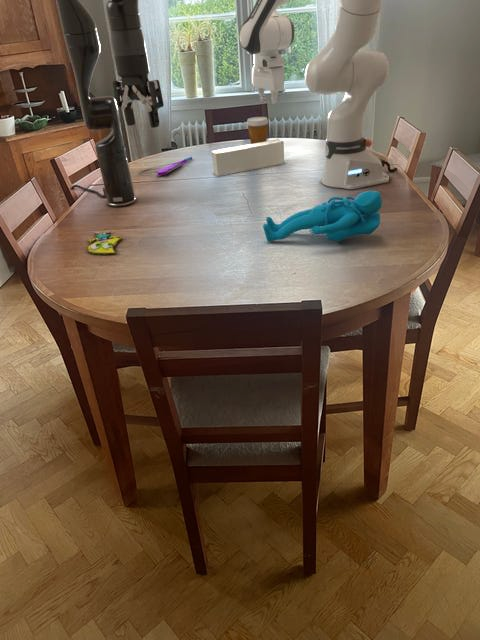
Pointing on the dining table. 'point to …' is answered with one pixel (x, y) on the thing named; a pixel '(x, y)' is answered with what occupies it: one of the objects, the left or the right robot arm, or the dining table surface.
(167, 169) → the musical instrument
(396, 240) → the dining table surface
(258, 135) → the disposable coffee cup
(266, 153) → the bar
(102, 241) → the toy
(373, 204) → the toy
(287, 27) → the right robot arm
